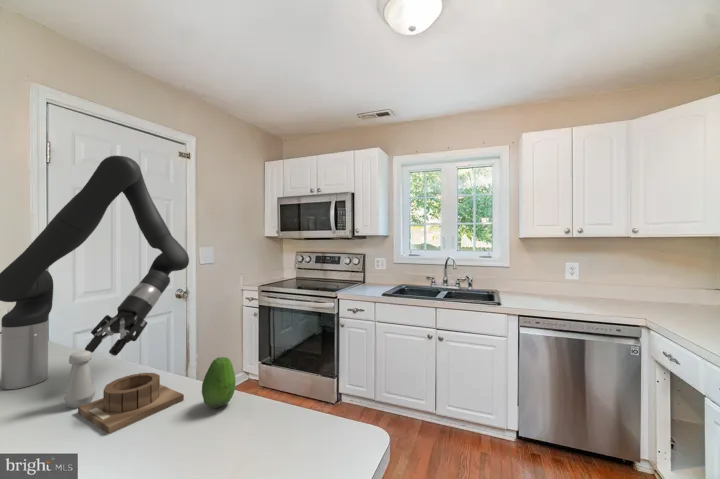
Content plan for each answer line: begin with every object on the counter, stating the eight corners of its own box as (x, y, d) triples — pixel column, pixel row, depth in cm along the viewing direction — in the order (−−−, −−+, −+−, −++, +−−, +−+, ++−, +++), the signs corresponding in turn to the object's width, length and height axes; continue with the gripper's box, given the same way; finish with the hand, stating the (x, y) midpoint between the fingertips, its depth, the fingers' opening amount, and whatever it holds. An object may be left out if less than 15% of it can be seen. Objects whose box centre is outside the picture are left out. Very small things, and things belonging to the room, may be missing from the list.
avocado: (241, 404, 77) (241, 357, 77) (208, 418, 71) (208, 366, 71) (227, 394, 83) (227, 349, 83) (196, 405, 77) (196, 357, 77)
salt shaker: (76, 411, 74) (76, 357, 74) (57, 408, 75) (58, 355, 75) (101, 399, 80) (101, 349, 80) (83, 397, 81) (83, 347, 81)
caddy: (78, 413, 73) (78, 388, 73) (150, 385, 87) (150, 364, 87) (109, 434, 65) (109, 405, 65) (183, 400, 79) (183, 377, 79)
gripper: (113, 293, 92) (69, 344, 81) (151, 295, 89) (110, 348, 78) (130, 307, 98) (91, 356, 86) (166, 309, 94) (130, 361, 83)
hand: (100, 352), depth 82 cm, fingers open, 8 cm apart
